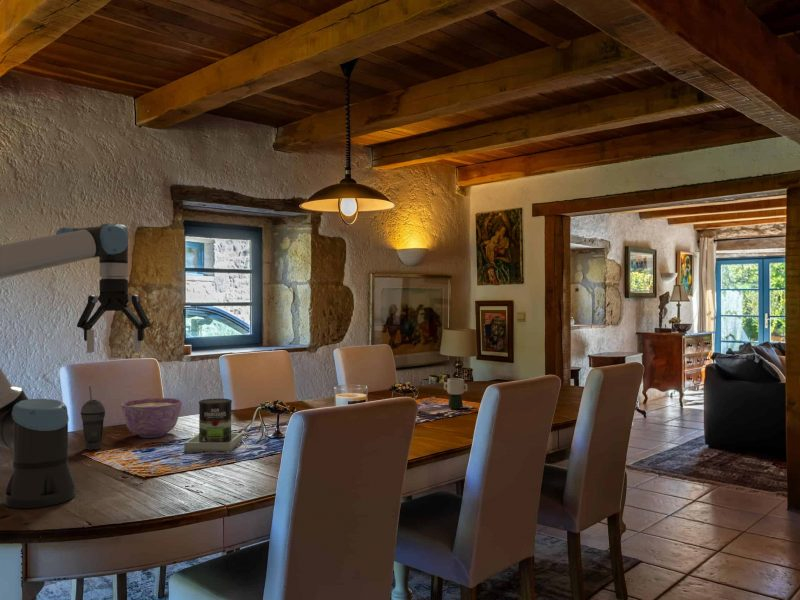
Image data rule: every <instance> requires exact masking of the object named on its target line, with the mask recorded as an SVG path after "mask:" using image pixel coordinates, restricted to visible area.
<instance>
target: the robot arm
mask: <svg viewBox="0 0 800 600" xmlns="http://www.w3.org/2000/svg"><path fill="white" fill-rule="evenodd" d="M93 258H98V259H99V261H98V262H99V268H98V269H99V270H98V271H99V272H98V273H99V275H98V276H99V278H100V279H99V295H98V296H97V295H95V294H92V295H91V294H89V295H88V297H87V303H86V305H85V307H84V309H83V311H82V314H81V315H80V318H79V320H78V322H77V323H76V327H77V328H80V329H82V330H83V340H84V341H85V342H86V353H87V354H90V353H91V354H92V353H94V352H95V329H93V327H94V326H95V324H96V323H97V322H98V321H99V320H100V319H101V317H102V316H103V315H104V313H106V312H113V311H114V312H120V311H121V312H122V313H123V314H124V315H125V316H126V318H127V319H128V320H129V321H130V322H131V324H133V326H134V327H135V328H136V329H134V331H133V333H134V334H133V340H134V341H133V347H134V348H133V353H134V354H137V353H138V354H139V353H141V352H142V342H143V341H144V339H145V329H147V328H150V327H151V322H150V320H149V318H148V316H147V314H146V313H145V310H144V308H143V306H142V304H141V302H140V301H141V300H140V296H139V295H137V294H132V295H130V296H129V280H128V279H127V278H128V277H129V232H128V227H127V226H126V225H124V224H119V223H102V224H99V225H98V226H89V227H87V226H86V227H72V226H70V227H65V226H64V227H60V228H59V229H58V230H56V232H55V234H51V235H47V236H42V237H35V238H31V239H25V240H21V241H15V242H10V243H4V244H0V280H2V279H5V278H6V279H7V278H11V277H15V276H19V275H23V274H27V273H32V272H37V271H40V270H45V269H49V268H53V267H58V266H62V265H66V264H70V263H75V262H79V261H84V260H88V259H89V260H90V259H93ZM98 301H99V303H100V305H99V306H98V308H96V309H97V310H96V311H95V312H94V313H93V314H92V312H93V310H94V309H95V306H96V304H97V303H98ZM129 302H130V304H132V306H133V309H134V310H135V312H136V314H135V313H134V312H133V310H132V309H131V308H130V307H129V306H128V303H129ZM91 315H92V316H91ZM136 315H137V316H138V317H137V316H136ZM90 316H91V317H90ZM0 448H4V449H8V450H12V471H11V474H10V476H9V480H8V484H7V485H6V488H5V491H4V495H3V499H4V500H3V501H4V502H3V503H4V504H3V505H4V506H5V507H7V508H13V509H35V508H37V509H38V508H44V507H45V508H46V507H51V506H54V505H57V504H58V505H59V504H62V503H64V502H68V501H70V500H72V499H74V498H75V497H76V495H77V488H76V486H77V485H76V482H75V479H74V478H73V474H72V471H71V469H70V466H69V457H68V456H69V449H68V448H69V414H68V407H67V405H66V404H65V403H64V402H62V401H60V400H57V399H51V398H49V399H48V398H30V399H29V398H28V396H27V395H26V392H24V390H23V388H22V387H20V386H19V385H18V386H17V385H13V384H11V382H10V381H9V379H8V378H7V376H6V375H5V373H4V372H3V369H2V368H1V367H0Z"/></svg>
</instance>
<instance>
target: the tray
mask: <svg viewBox="0 0 800 600" xmlns="http://www.w3.org/2000/svg"><path fill="white" fill-rule="evenodd" d="M242 442H243V433H241V432H240V433H239V432H238V433H236V432H235V433H234V432H233V433H232V432H231V441H229V442H199V433H197V434H196V435H194V436H193V437H191V438H190V439H188V440H186V441H185V442H183V443H184V444H183V451H184V452H186V453H187V452H191V453H194V452H195V453H205V452H206V453H214V452H213V451H229V452H228V453H231V452H232V451H233V450H234V449H235V448H236V447H237V445H238V444H239V443H240V444H241V443H242ZM240 444H239V445H240ZM239 445H238V446H239ZM232 449H233V450H232ZM231 450H232V451H231ZM203 451H205V452H203ZM230 451H231V452H230Z"/></svg>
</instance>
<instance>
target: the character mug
mask: <svg viewBox="0 0 800 600" xmlns="http://www.w3.org/2000/svg"><path fill="white" fill-rule="evenodd" d="M443 390H444V391H447V394H449V397H448V409H453V410H454V409H455V410H456V409H457V410H460V409H462V408H464V406H463V405H464V404H463V397H462V394H464V392H468V384H467V383H465V379H464V378H459V377H450V378H447V381H445V382H443Z"/></svg>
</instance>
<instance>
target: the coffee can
mask: <svg viewBox="0 0 800 600" xmlns="http://www.w3.org/2000/svg"><path fill="white" fill-rule="evenodd" d="M232 403H233V401H232V399H229V398H207V399H201V400H199V401H198V404H199V407H198V409H199V410H198V411H199V413H198V415H199V416H198V421H199V422H198V423H199V424H198V432H199V433H198V434H199V442H229V441H231V433H232Z"/></svg>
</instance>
